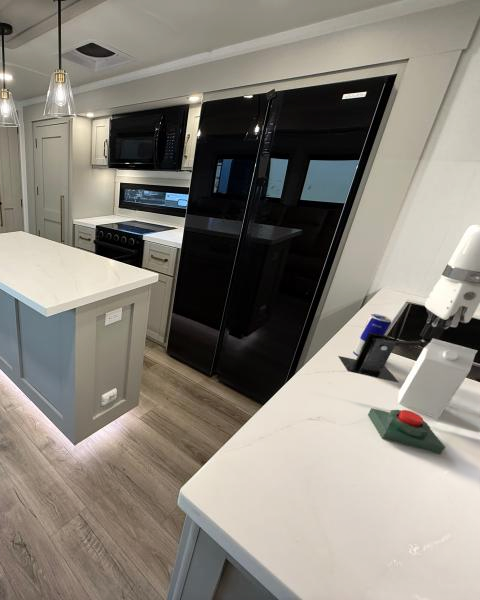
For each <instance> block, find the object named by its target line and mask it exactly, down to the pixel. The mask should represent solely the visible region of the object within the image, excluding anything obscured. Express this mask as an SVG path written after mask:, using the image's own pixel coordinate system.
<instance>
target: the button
mask: <svg viewBox="0 0 480 600" xmlns="http://www.w3.org/2000/svg"><path fill="white" fill-rule="evenodd" d="M398 418H399V419H400V420H401V421H402V422H404V423H406V424H408V425H410V426H413V427H417V428H418V427H420V425H421V424H422V422H423V421H424V418H423V417H422V416H421V415H419V414H418V413H416V412H414V411H411V410H407V409H402V410H401V412H400V414H399V416H398Z"/></svg>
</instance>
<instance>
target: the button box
mask: <svg viewBox="0 0 480 600" xmlns="http://www.w3.org/2000/svg"><path fill="white" fill-rule="evenodd" d="M401 411H402V410H401V409H391V410H389V412H388V411H385V410H382V409H381V410H380V409H377V408H374V407H373V408H372V407H371V408H370V410H369V411H368V413H367V416H368V418H369V419H370V421H371V423H372V424H373V426H374V428H375V429H376V431H377V433H378V434H379V436H380V437H381V439H383V440H386V441H390V442H393V443H397V444H401V445H403V446H404V445H405V446H408V447H411V448H415V449H418V450H423V451H426V452H429V453H433V454H436V455H441V454H442V453H443V452H444V450H445V449H446V446H445V445H444V444H443V442H442V441H441V440H440V439H439V437H437V434H435V433H434V431H433V430H432V429H431V427H430V425H429V424H428V423H427V422H426V421H425V420H423V422H422V424H421V425H420V427H418V428H417V427H413V426H410V425H408V424H406V423H404V422H402V421H401V420H400V419H399V418H398V416H399V414H400V412H401Z"/></svg>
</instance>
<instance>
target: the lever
mask: <svg viewBox="0 0 480 600" xmlns="http://www.w3.org/2000/svg"><path fill="white" fill-rule="evenodd" d="M375 339H380V340H385V341H388V340H386V339H385V338H372V343H371V345H372V344H373V342H374V340H375ZM389 341H390V342H394V343H395V346H394V347H420V348H421V349H422V350H423V349H424V347H425V346H427V345H428V344H429V343H430V342H431V340H429V339H424V338H423V337H421V339H419V340H389Z"/></svg>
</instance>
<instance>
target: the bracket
mask: <svg viewBox="0 0 480 600" xmlns="http://www.w3.org/2000/svg"><path fill="white" fill-rule="evenodd" d="M372 338H385V339H386V340H387V341H385V340H380V339H375V340H374V342H373V344H372V345H371V343H372ZM389 339H390V337H389V336H388V335H380V334H375V333H369V334H368V336H367V338H366V340H365V342H364V344H363V346H362V348H361V351H360V353H359V355H358V356H356V359H355V358H351V357H346V356H340V355H338V356H337V357H338V359H339V360H340V362H341V363H342V365H343V366H344V368H345V369H346V371H347V372H350V373H353V374H359V375H363V376H367V377H372V378H375V379H376V378H377V379H380V380H386V381H390V382H394V383H397V384H398V383H399V384H400V381H399V380H398V379H397V378H396V377H395V376H394V374H393V373H392V372H391V371H390V370H389V368H387V366H386V363H387V361H388V360H389V357H390V356H391V354H392V352H393V350H394V348H395V347H396V346H395V343H394V342H390V341H391V340H389Z"/></svg>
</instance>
